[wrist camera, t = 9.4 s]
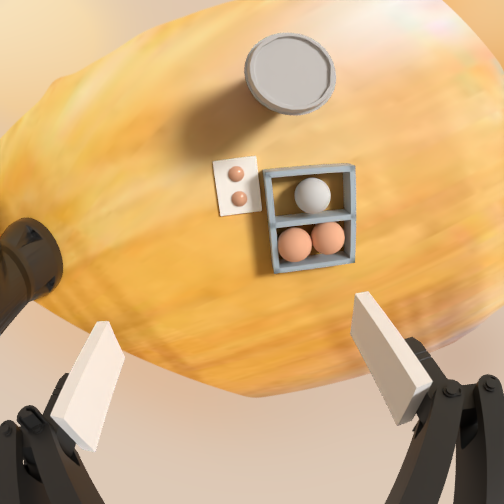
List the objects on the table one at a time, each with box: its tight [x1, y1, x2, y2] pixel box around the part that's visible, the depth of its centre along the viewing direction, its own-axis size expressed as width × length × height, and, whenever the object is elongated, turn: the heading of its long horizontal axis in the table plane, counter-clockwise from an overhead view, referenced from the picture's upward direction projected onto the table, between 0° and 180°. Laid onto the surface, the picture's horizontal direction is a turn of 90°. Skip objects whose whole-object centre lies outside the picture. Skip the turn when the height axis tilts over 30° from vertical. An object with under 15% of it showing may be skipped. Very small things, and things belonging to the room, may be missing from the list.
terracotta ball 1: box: [277, 227, 312, 262], centre depth 41 cm, size 5×5×5 cm
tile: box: [213, 156, 262, 216], centre depth 39 cm, size 6×8×1 cm
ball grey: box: [295, 178, 331, 214], centre depth 38 cm, size 5×5×5 cm
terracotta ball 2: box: [311, 222, 345, 255], centre depth 41 cm, size 5×5×5 cm
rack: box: [263, 163, 356, 274], centre depth 40 cm, size 13×15×3 cm
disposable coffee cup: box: [244, 33, 336, 115], centre depth 29 cm, size 10×10×12 cm
